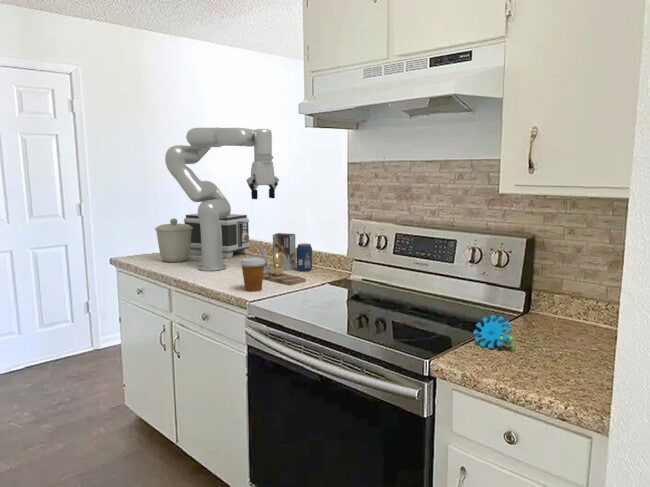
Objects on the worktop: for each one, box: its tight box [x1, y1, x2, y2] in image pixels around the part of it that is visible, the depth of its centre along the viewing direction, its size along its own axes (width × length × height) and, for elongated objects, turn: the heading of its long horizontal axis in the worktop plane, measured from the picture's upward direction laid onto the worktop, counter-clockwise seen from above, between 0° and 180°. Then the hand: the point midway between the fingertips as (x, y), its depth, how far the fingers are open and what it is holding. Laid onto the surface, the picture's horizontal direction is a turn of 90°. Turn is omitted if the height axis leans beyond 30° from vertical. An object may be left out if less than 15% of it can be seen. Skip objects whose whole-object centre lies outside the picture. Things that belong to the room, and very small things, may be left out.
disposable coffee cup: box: [239, 256, 265, 293], centre depth 196 cm, size 10×10×12 cm
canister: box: [154, 217, 193, 263], centre depth 253 cm, size 18×18×21 cm
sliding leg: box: [269, 253, 284, 276], centre depth 214 cm, size 4×6×9 cm, turn 137°
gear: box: [473, 314, 515, 350], centre depth 137 cm, size 11×6×10 cm
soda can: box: [296, 243, 313, 273], centre depth 231 cm, size 7×7×12 cm
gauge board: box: [260, 248, 306, 286], centre depth 214 cm, size 24×9×12 cm, turn 47°
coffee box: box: [272, 232, 297, 271], centre depth 235 cm, size 9×6×16 cm
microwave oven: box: [183, 213, 251, 260], centre depth 272 cm, size 18×34×21 cm, turn 61°
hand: (263, 198), depth 221 cm, fingers open, 9 cm apart
